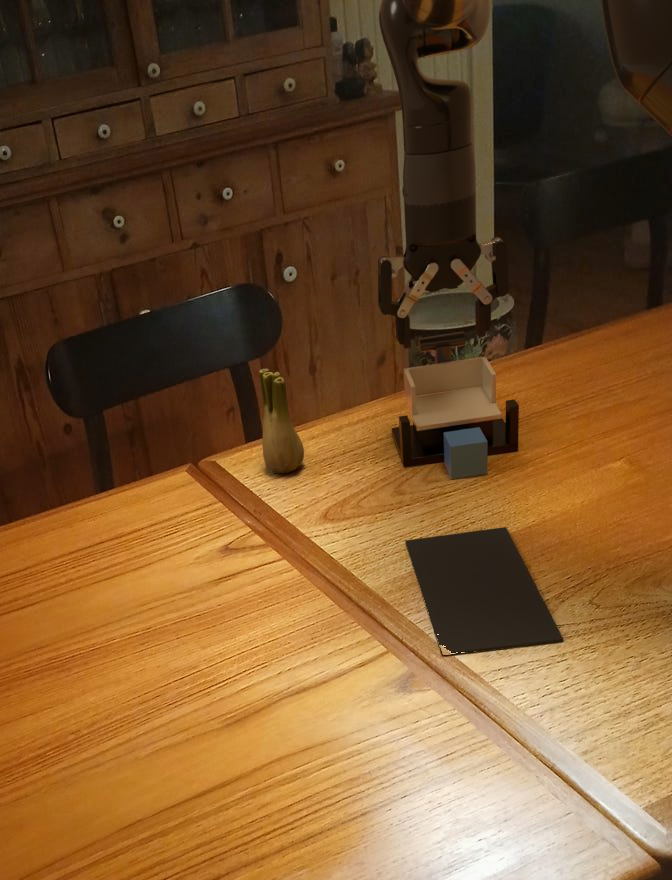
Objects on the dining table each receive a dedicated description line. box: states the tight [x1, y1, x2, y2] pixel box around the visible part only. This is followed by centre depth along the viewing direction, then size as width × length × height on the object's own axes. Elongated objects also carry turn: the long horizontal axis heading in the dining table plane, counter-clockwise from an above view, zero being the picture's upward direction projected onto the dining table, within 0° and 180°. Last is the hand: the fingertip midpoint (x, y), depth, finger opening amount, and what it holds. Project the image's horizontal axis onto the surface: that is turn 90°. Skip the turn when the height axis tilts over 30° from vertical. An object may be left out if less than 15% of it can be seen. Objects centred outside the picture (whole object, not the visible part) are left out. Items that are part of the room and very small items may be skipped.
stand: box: [390, 399, 520, 468], centre depth 116 cm, size 13×10×6 cm
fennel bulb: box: [258, 368, 305, 474], centre depth 116 cm, size 6×5×12 cm
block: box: [443, 427, 488, 480], centre depth 110 cm, size 4×4×4 cm
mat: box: [404, 526, 564, 654], centre depth 91 cm, size 10×20×1 cm, turn 179°
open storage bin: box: [403, 331, 503, 431], centre depth 114 cm, size 10×11×7 cm
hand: (443, 340), depth 115 cm, fingers open, 8 cm apart
